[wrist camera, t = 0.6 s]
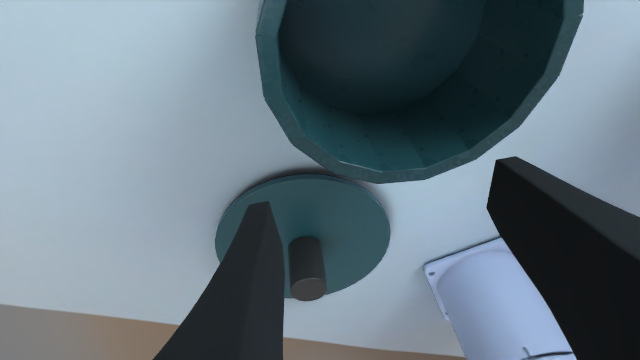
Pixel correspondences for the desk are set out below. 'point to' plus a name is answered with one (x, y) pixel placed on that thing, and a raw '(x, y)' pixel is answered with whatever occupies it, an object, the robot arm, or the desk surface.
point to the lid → (316, 231)
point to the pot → (408, 77)
